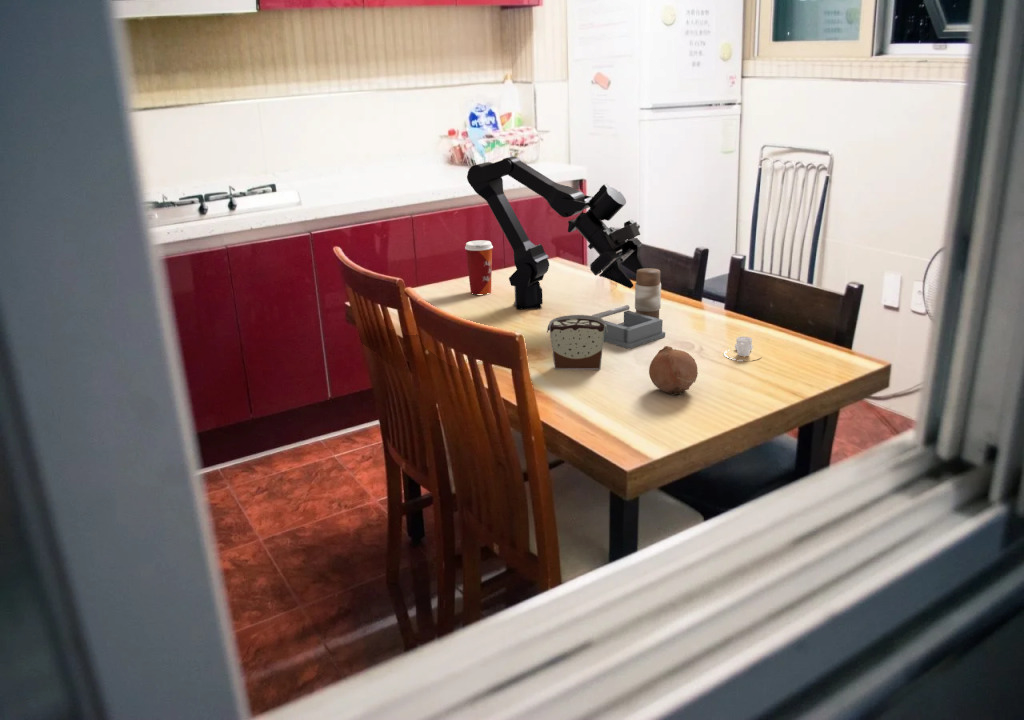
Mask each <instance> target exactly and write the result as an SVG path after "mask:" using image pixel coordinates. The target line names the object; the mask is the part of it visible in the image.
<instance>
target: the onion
mask: <svg viewBox="0 0 1024 720" xmlns="http://www.w3.org/2000/svg"><path fill="white" fill-rule="evenodd" d="M648 374H649V378H650V380H651V382H652V384H653V385H654V387H656V388H657V389H659V391H662V392H666V393H668V394H670V395H682V393H684V392H685V393H686V391H687V390H690V387H692V385H693V384H694V383H696V382H697V378H698V375H699V372H698V364H697V362H696V359H695V358H694V357H693V356H692V355H691V354H689V353H688V352H686V351H685V350H680V349H676V348H673V347H671V346H669V345H664V347H663V348H662V349H659V350H658V352H657V353H656V354H655V356H654V357H653V358H652V360H651V361H650V365H649V367H648Z"/></svg>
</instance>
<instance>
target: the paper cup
mask: <svg viewBox="0 0 1024 720" xmlns="http://www.w3.org/2000/svg"><path fill="white" fill-rule="evenodd" d="M493 248H494V246H493V244H492V242H491V241H490V240H485V239H483V240H479V239H478V240H471V241H468V242H466V243H465V247H464V249H465V254H466V261H467V262H466V263H467V271H468V273H467V274H468V279H469V288H470V294H471V293H473V294H487V293H490V294H491V293H492V266H493V265H492V264H493V263H492V262H493V259H492V258H493Z"/></svg>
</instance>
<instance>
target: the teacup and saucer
mask: <svg viewBox="0 0 1024 720" xmlns="http://www.w3.org/2000/svg"><path fill="white" fill-rule="evenodd" d="M752 343H753V338H751V337H749V336H738V337H736V343H735V345H734V349H736V350H737V351H736V353H737V356H738V355H739V356H738V357H740V356H748V355H749V356H750V353H751V352H750V351H751V350H753V348H754V347H753V346H754V345H753V344H752ZM727 350H728V351H729V350H730V349H727ZM727 350H725V351H724V352H723V353H724V355H723V356H724V357H725V358H726V357H727V359H728V358H729V357H728V356H727V355H726V354H725V353H727ZM749 356H748V357H749ZM732 358H733V357H732ZM732 358H729V359H728V360H731V359H732ZM736 359H737V358H734V359H732V360H731V361H735V360H736ZM743 360H744V359H739V360H737V361H736V362H743Z"/></svg>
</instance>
